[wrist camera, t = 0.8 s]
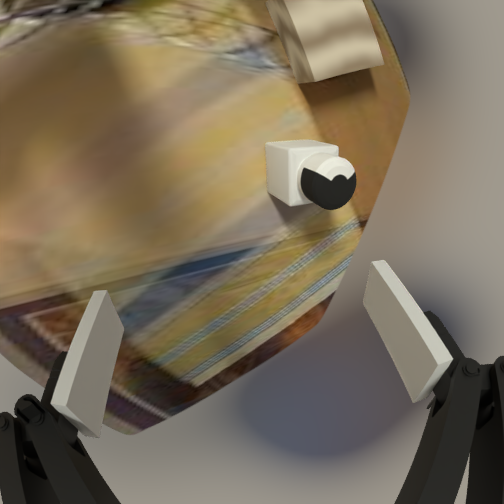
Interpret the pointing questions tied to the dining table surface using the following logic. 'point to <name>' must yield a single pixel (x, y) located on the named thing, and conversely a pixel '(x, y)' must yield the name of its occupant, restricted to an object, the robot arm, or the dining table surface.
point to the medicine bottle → (309, 173)
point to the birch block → (325, 37)
